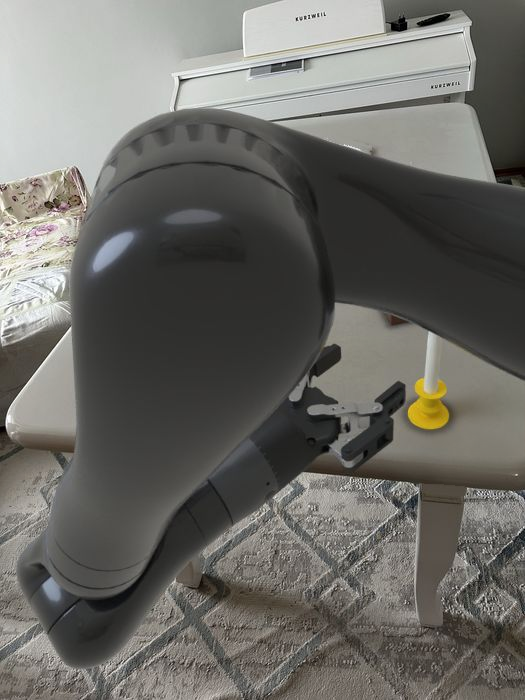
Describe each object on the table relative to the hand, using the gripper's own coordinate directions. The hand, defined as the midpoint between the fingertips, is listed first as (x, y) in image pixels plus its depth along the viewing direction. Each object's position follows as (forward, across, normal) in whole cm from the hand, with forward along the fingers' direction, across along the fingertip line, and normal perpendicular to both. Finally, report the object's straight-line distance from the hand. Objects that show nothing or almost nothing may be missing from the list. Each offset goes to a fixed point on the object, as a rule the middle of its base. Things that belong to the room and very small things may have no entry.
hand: (368, 368), depth 53 cm
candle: (+11, 0, +17) cm, 20 cm away
